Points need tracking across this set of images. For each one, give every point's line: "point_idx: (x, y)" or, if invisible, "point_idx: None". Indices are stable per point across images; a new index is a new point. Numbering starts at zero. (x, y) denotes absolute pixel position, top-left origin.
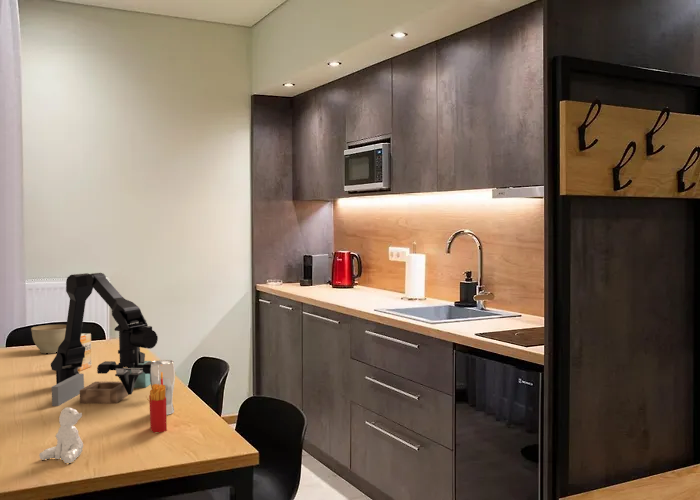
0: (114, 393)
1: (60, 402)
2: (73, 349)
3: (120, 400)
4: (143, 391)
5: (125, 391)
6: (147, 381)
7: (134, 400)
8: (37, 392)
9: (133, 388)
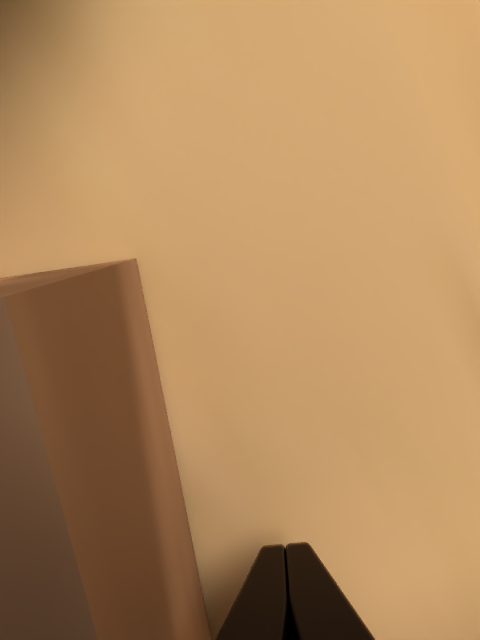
0: None
1: None
2: None
3: (208, 631)
4: (277, 16)
5: (156, 528)
6: None
7: (395, 588)
8: None
9: (357, 620)
